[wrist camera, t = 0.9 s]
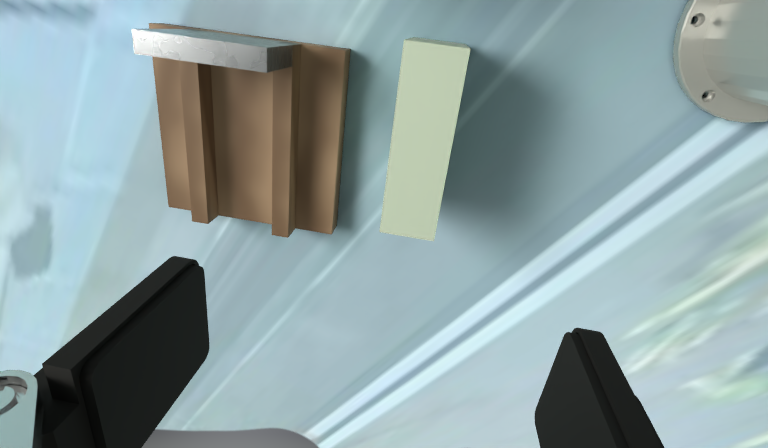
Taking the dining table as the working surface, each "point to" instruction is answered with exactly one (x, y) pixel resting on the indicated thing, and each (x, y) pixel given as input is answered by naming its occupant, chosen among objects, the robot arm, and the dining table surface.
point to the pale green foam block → (422, 135)
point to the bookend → (214, 48)
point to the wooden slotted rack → (255, 137)
